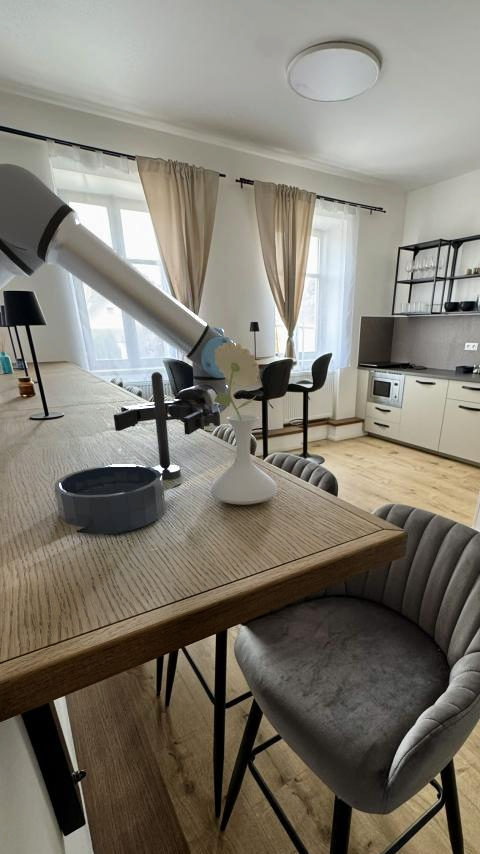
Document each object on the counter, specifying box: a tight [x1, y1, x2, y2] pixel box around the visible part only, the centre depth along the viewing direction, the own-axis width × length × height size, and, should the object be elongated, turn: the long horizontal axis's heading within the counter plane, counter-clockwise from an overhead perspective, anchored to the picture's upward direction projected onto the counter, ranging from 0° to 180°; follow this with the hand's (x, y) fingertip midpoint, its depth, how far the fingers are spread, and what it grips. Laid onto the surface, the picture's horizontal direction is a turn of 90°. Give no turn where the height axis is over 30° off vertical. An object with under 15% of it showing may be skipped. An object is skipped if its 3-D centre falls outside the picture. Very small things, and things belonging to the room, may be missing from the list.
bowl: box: [53, 464, 166, 535], centre depth 61 cm, size 15×15×6 cm
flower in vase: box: [209, 342, 278, 506], centre depth 66 cm, size 13×11×25 cm
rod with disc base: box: [150, 371, 182, 489], centre depth 73 cm, size 5×5×20 cm
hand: (150, 424), depth 68 cm, fingers open, 12 cm apart
